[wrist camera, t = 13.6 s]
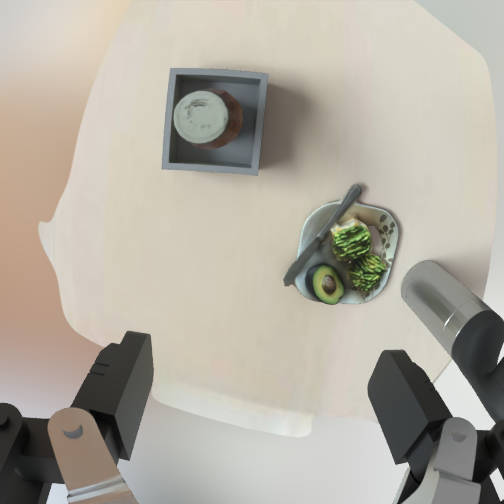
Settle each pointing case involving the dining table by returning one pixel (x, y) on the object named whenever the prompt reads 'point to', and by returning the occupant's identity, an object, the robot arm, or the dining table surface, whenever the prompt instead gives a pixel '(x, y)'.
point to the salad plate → (343, 252)
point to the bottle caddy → (237, 151)
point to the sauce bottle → (208, 118)
